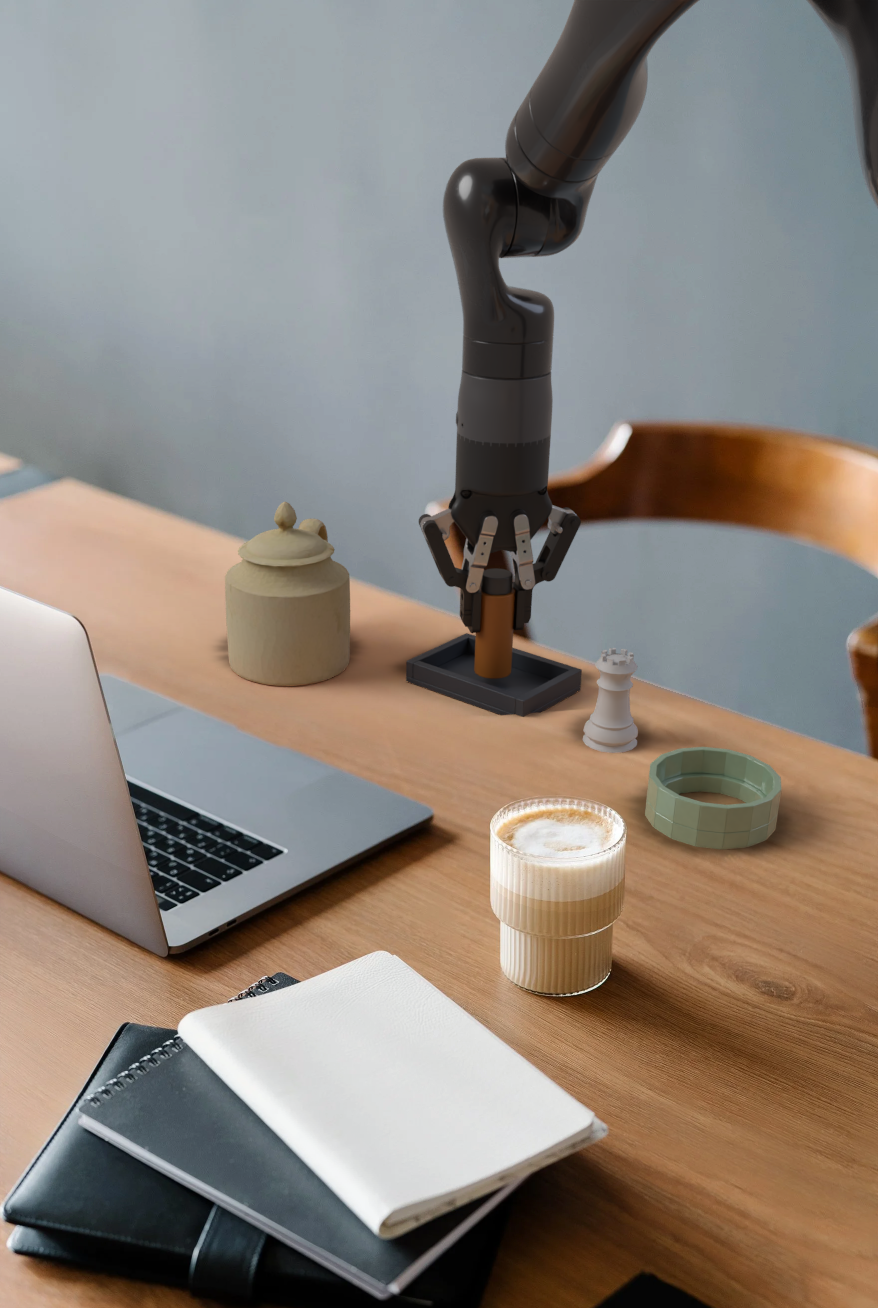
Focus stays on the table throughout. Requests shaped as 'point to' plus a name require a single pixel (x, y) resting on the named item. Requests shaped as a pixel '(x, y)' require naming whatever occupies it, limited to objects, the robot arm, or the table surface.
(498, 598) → the bottle
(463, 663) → the tray
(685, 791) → the green hollow ring
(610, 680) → the rook chess piece
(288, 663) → the sugar bowl
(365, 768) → the table surface
